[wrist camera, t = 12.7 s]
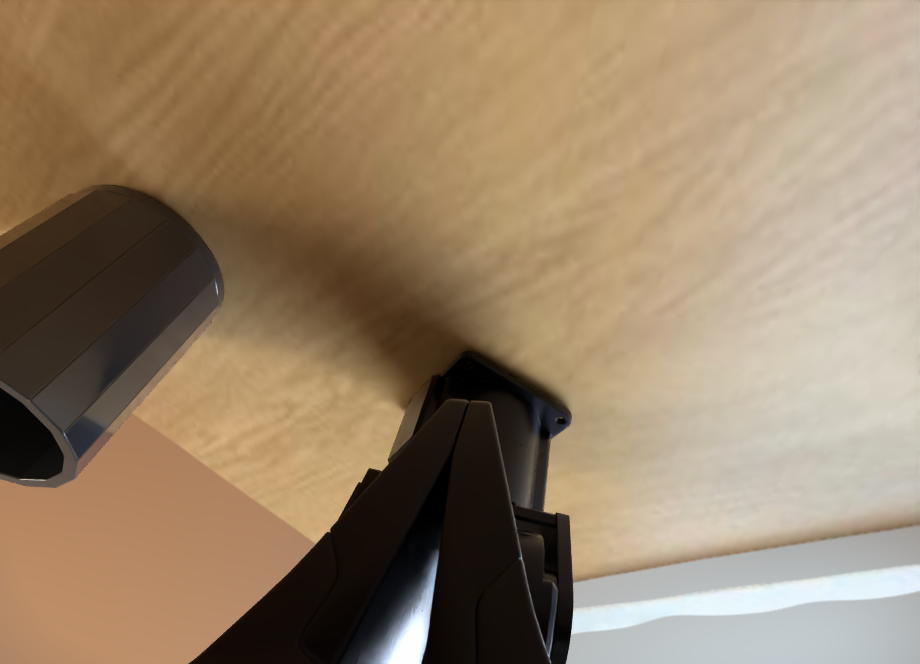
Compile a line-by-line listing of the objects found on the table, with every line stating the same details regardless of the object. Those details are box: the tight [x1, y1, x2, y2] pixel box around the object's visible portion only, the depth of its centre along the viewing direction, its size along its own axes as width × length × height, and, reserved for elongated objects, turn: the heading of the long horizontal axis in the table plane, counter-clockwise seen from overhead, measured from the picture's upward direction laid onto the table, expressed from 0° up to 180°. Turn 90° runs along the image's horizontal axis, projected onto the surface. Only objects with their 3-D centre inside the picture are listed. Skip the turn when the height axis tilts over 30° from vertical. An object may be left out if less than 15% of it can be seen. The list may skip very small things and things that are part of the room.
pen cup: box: [0, 185, 224, 488], centre depth 23 cm, size 8×8×10 cm
